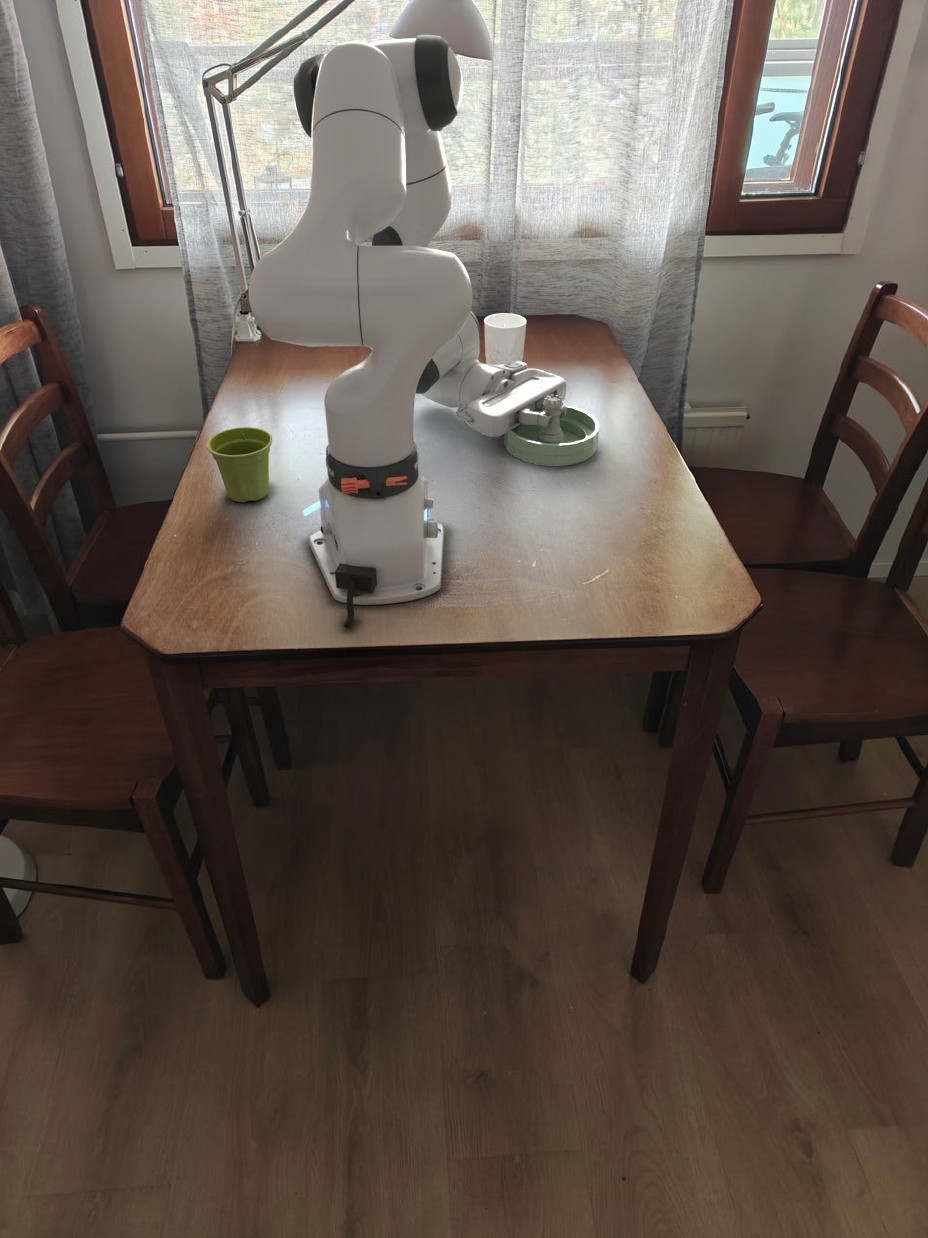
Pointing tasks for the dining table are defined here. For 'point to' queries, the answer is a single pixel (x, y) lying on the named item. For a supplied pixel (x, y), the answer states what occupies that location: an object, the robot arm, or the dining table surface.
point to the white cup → (504, 338)
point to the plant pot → (243, 461)
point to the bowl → (575, 448)
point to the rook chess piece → (552, 431)
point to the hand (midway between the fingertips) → (556, 416)
